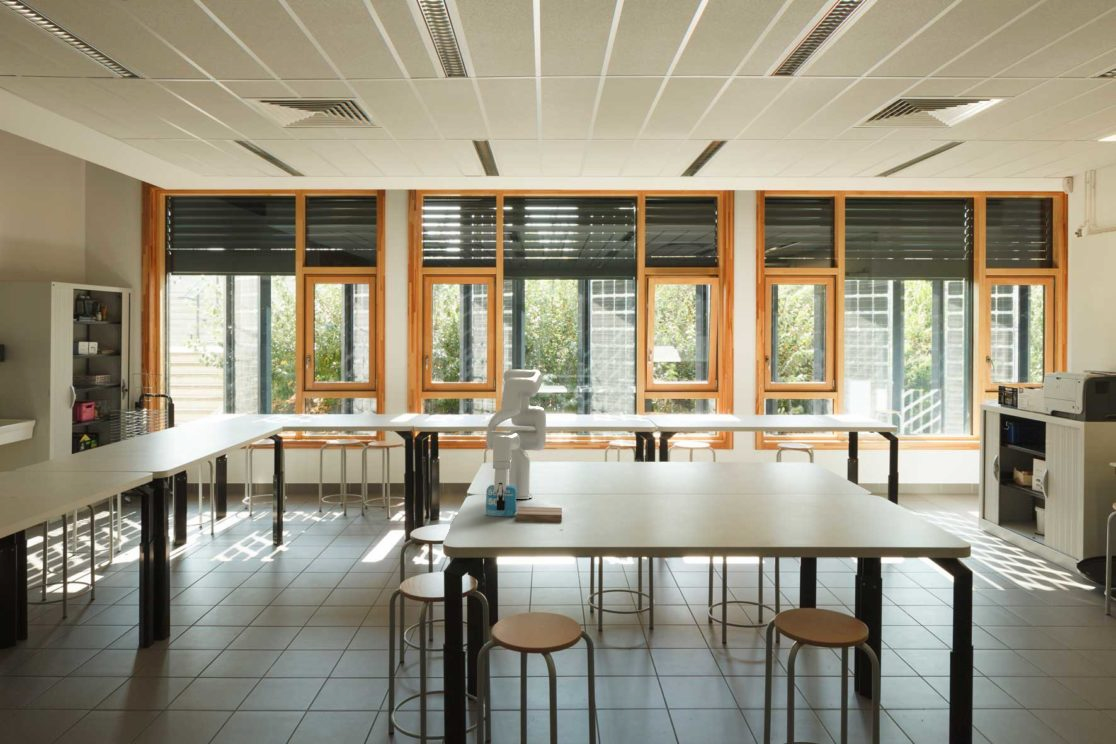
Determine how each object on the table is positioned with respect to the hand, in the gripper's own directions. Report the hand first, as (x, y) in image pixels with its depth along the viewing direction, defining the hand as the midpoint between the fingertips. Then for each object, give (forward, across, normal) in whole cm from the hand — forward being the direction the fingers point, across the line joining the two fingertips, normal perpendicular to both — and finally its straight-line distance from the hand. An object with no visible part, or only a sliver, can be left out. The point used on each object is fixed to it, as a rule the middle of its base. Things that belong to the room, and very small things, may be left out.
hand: (501, 508), depth 313 cm
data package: (+3, 0, 0) cm, 3 cm away
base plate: (+3, +4, +16) cm, 17 cm away
